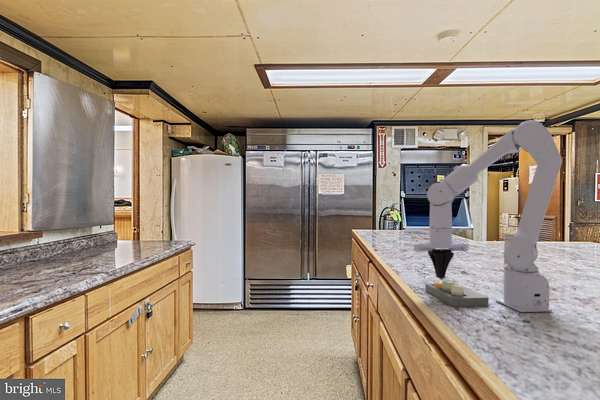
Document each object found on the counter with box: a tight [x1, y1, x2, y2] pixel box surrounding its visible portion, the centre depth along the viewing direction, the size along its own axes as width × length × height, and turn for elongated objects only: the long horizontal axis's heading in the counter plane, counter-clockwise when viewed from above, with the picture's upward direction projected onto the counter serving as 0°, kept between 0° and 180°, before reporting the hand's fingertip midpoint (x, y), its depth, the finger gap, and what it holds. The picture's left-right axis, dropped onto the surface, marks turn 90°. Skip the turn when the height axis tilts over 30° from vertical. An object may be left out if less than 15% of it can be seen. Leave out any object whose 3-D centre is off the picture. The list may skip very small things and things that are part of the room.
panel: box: [424, 282, 489, 308], centre depth 97 cm, size 15×9×2 cm, turn 6°
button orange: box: [433, 281, 442, 288], centre depth 102 cm, size 3×3×2 cm
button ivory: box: [451, 284, 465, 296], centre depth 93 cm, size 3×3×2 cm
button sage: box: [442, 280, 456, 292], centre depth 98 cm, size 3×3×2 cm
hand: (440, 277), depth 102 cm, fingers closed
